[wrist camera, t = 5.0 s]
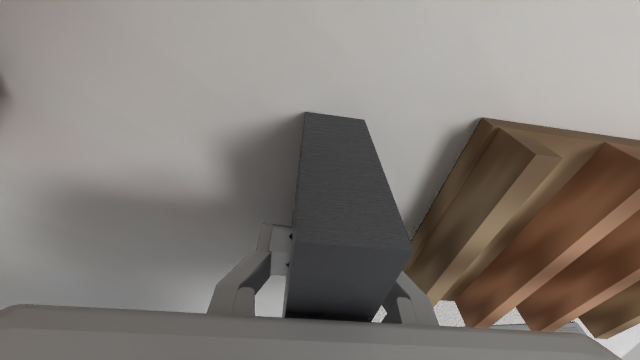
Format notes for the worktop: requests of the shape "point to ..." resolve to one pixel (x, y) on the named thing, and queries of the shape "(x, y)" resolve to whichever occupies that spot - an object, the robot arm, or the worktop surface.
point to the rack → (536, 230)
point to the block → (342, 226)
